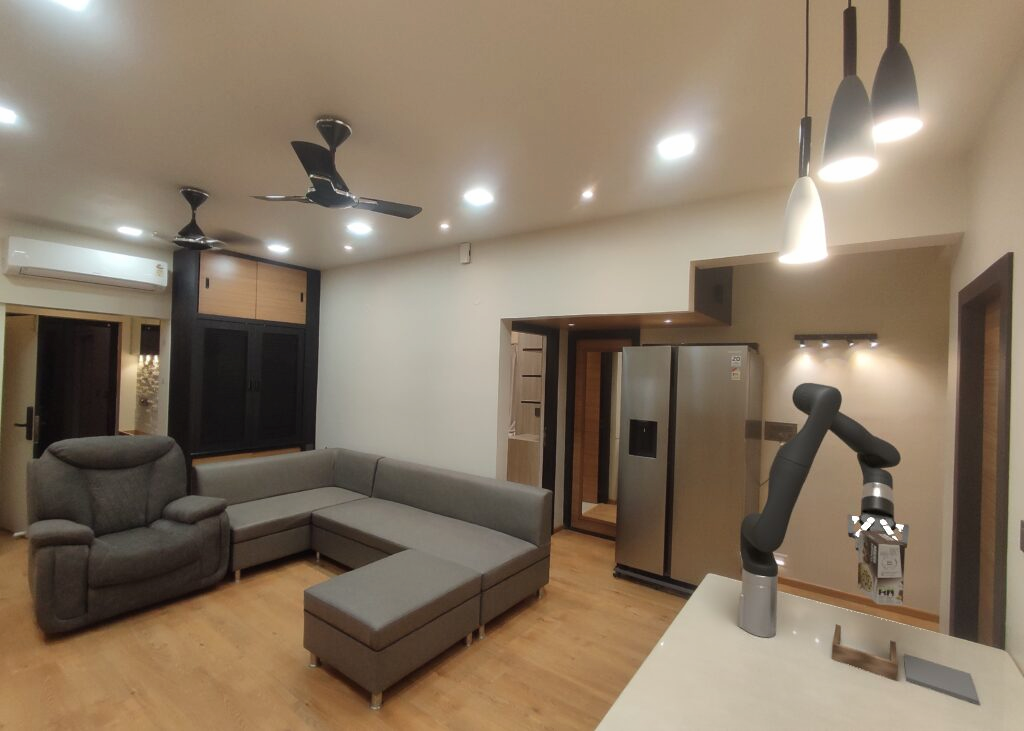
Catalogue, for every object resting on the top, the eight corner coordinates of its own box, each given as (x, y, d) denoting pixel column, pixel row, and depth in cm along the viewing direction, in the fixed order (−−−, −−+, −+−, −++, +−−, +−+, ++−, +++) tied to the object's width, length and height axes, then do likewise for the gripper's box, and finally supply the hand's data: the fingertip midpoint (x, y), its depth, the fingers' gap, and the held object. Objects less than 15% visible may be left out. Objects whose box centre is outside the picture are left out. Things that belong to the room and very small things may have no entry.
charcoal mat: (906, 680, 117) (906, 676, 117) (903, 657, 127) (903, 653, 127) (979, 705, 109) (979, 700, 109) (970, 677, 119) (970, 673, 119)
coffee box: (904, 606, 120) (906, 545, 119) (876, 604, 121) (878, 543, 120) (882, 587, 129) (884, 530, 128) (856, 586, 130) (858, 529, 129)
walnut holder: (831, 659, 125) (832, 644, 125) (835, 638, 136) (835, 624, 136) (897, 681, 117) (897, 665, 117) (895, 656, 127) (895, 642, 127)
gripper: (846, 490, 139) (843, 541, 129) (910, 500, 130) (912, 555, 121) (847, 504, 143) (844, 555, 134) (908, 514, 134) (910, 569, 125)
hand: (876, 555), depth 127 cm, fingers closed on coffee box, 6 cm apart
